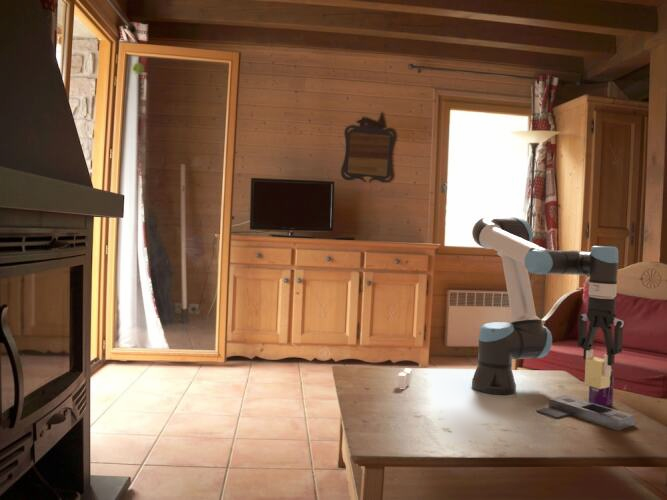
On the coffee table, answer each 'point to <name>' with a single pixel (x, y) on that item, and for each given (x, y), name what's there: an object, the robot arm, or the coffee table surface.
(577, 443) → the coffee table surface
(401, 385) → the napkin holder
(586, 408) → the rack rail
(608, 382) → the yellow rectangular block
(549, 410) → the rubber mat
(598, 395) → the beverage can
